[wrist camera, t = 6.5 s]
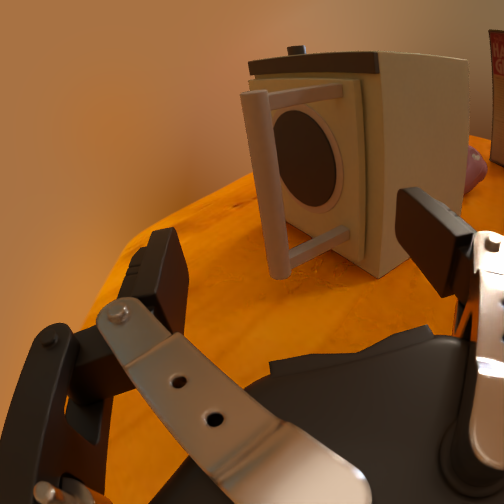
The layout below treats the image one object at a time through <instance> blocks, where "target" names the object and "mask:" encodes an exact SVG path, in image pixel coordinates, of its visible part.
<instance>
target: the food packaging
mask: <svg viewBox="0 0 504 504" xmlns="http://www.w3.org/2000/svg"><path fill="white" fill-rule="evenodd" d="M488 32H489V37H490V47H491V62H492V83H493V120H492V139H491V151H490V159H489V160H490V161H492V162H494V163H496V164H498V165H500V166H502V167H504V31H502V30H489V31H488Z"/></svg>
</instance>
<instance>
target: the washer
mask: <svg viewBox="0 0 504 504" xmlns="http://www.w3.org/2000/svg"><path fill="white" fill-rule="evenodd" d="M287 51H288V56H283V57H275V58H267V59H261V60H253V61H250V62H248V66H249V72H250V75H255V79H269V78H344V79H359V80H360V83H361V94H362V107H363V122H364V142H365V180H366V208H365V247H364V259H363V260H361V261H359V262H357V261H355V260H353V259H352V258H350V257H349V256H347V255H345V254H344V253H342V252H341V251H339V250H337V249H336V248H332V250H333V251H335V252H337V253H338V254H340V255H341V256H343V257H345V258H346V259H348V260H349V261H351V262H353V263H354V264H356V265H357V266H359V267H360V268H362V269H363V270H365V271H367V272H368V273H370V274H371V275H373V276H374V277H376V278H377V279H379V278H381V277H382V276H384V275H385V274H387V273H388V272H389V271H391V270H392V269H394V268H395V267H397V266H398V265H400V264H401V263H403V262H404V261H406V260H407V259H408V258H410V256H409V255H408V254H407V253H406V251H405V250H404V249H403V248H402V246H401V245H400V244H399V243H398V241H397V238H396V235H395V215H396V198H397V192H398V190H399V189H402V188H410V187H419V188H421V189H422V190H423V191H425V192H426V193H427V194H428V195H430V196H431V197H432V198H433V199H436V200H438V201H440V202H442V203H444V204H445V205H446V206H447V207H449V208H450V209H451V211H453V212H455V213H456V214H457V215H458V217H460V215H461V208H462V201H463V194H464V186H465V177H466V167H467V156H468V141H469V113H470V93H469V92H470V91H469V90H470V89H469V64H468V60H464V59H457V58H450V57H443V56H435V55H426V54H416V53H404V52H387V51H385V52H384V51H351V52H350V51H349V52H327V53H313V54H306V48H305V46H304V45H302V46H291V47H287ZM285 221H286V222H288V223H289V224H291V225H293V226H294V227H296V228H298V229H299V230H301V231H303V232H304V233H306V234H308V235H309V236H311V237H312V238H315V237H316V236H314V235H313V234H311V233H309V232H308V231H306V230H304V229H303V228H301V227H299V226H298V225H296V224H294V223H293V222H291V221H289V220H288V219H286V218H285Z"/></svg>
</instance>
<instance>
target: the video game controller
mask: <svg viewBox="0 0 504 504" xmlns="http://www.w3.org/2000/svg"><path fill="white" fill-rule="evenodd" d="M486 173H487V164H486V162H485V161H484V160H483V158H482V156H481V155H480V153H479V152H478V151H477V150H476V149H474V148H473V147H471V146H469V145H468V156H467V167H466V177H465V186H464V194H466V193H468V192H469V191H471V190H472V189H473V188H474V187H475V186H476V185H477V184H478V183H479V182H480V181H482V180H483V179H484V177H485V176H486Z"/></svg>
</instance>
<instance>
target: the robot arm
mask: <svg viewBox="0 0 504 504" xmlns="http://www.w3.org/2000/svg"><path fill="white" fill-rule="evenodd" d="M395 235H396V238H397V241H398V243H399V244H400V245H401V246H402V248H403V249H404V250H405V251H406V253H407V254H408V255H409V256H410V258H411V259H412V260H413V261H414V263H415V264H416V265H417V266H418V268H419V269H420V270H421V271H422V273H423V274H424V275H425V277H426V278H427V279H428V281H429V282H430V283H431V284H432V286H433V287H434V288H435V290H436V291H437V293H438V294H439V295H440V297H441V298H444V297H448V296H451V295H454V294H455V295H456V297H457V302H456V305H455V313H454V321H453V328H452V334H451V336H447V335H433V333H432V331H431V330H430V328H429V326H428V325H427V324H426V325H423V326H420V327H416V328H413V329H410V330H406V331H403V332H399V333H396V334H393V335H391V336H389V337H387V338H385V339H383V340H381V341H380V342H378V343H376V344H374V345H372V346H370V347H368V348H366V349H364V350H362V351H360V352H357V353H339V354H308V355H303V356H298V357H293V358H287V359H282V360H276V361H271V362H269V367H270V373H271V374H270V375H267V376H265V377H262V378H261V379H259V380H257V381H255V382H253V383H252V384H250V385H249V386H247V387H245V388H244V389H242V388H241V387H239V386H238V385H237V384H236V383H235V382H234V381H233V380H231V379H230V378H229V377H228V376H227V375H226V374H225V373H223V372H222V371H221V370H220V369H219V368H218V367H217V366H216V365H214V364H213V363H212V362H211V361H210V360H209V359H208V358H207V357H206V356H204V355H203V354H202V353H201V352H200V351H199V350H198V349H197V348H196V347H195V346H194V345H193V344H192V343H191V342H189V341H188V340H187V339H186V338H185V337H184V325H185V315H186V305H187V296H188V287H189V273H188V268H187V264H186V261H185V258H184V255H183V251H182V248H181V245H180V242H179V238H178V235H177V232H176V230H175V228H174V227H171V228H166V229H161V230H156V231H153V232H152V234H151V236H150V239H149V242H148V245H147V247H142V248H140V249H139V250H138V251H137V252H136V253H135V255H134V256H133V257H132V259H131V261H130V264H129V268H128V269H127V272H126V276H125V277H124V280H123V283H122V286H121V288H120V291H119V294H118V297H117V299H116V300H114V301H112V302H110V303H109V304H107V305H106V306H105V307H104V308H103V309H102V310H101V311H100V312H99V314H98V316H97V318H96V325H94V326H92V327H90V328H87V329H84V330H82V331H79V332H77V333H74V334H73V332H72V331H71V329H70V328H69V326H68V325H66V324H64V323H56V324H52V325H50V326H48V327H46V328H44V329H43V330H42V331H41V332H40V333H39V334H38V335H37V336H36V338H35V339H34V341H33V343H32V346H31V348H30V351H29V353H28V356H27V358H26V361H25V364H24V366H23V369H22V371H21V374H20V377H19V380H18V383H17V386H16V389H15V392H14V394H13V397H12V401H11V404H10V407H9V410H8V413H7V417H6V420H5V424H4V427H3V431H2V435H1V439H0V504H113V503H112V502H111V501H110V500H109V499H108V498H107V497H106V496H104V492H105V474H106V461H107V449H108V439H109V430H110V421H111V413H112V405H113V398H114V396H115V395H118V394H121V393H124V392H127V391H130V390H133V389H135V388H137V390H138V391H139V392H140V394H141V395H142V397H143V398H144V399H145V401H146V402H147V403H148V405H149V406H150V407H151V409H152V410H153V411H154V413H155V414H156V415H157V417H158V418H159V419H160V420H161V422H162V423H163V424H164V425H165V427H166V428H167V429H168V430H169V432H170V433H171V434H172V435H173V437H174V438H175V439H176V440H177V441H178V443H179V444H180V445H181V446H182V447H183V449H184V450H185V451H186V452H187V453H188V454H189V455H188V457H187V458H186V459H185V460H184V462H183V463H182V464H181V465H180V467H179V468H178V469H177V470H176V471H175V473H174V474H173V475H172V476H171V478H170V479H169V480H168V481H167V482H166V484H165V485H164V486H163V487H162V488H161V489H160V491H159V492H158V493H157V494H156V495H155V497H154V498H153V499H152V500H151V501H150V502H149V503H148V504H504V237H503V236H502V235H500V234H497V233H495V232H491V231H480V232H477V231H476V230H474V229H473V228H472V227H471V226H470V225H469V224H468V223H466V222H465V221H464V220H463V219H462V218H461V217H458V215H457V214H456V213H455V212H453V211H451V209H450V208H449V207H447V206H446V205H445V204H444V203H442V202H440V201H438V200H436V199H433V198H432V197H431V196H430V195H428V194H427V193H426V192H425V191H423V190H422V189H421V188H419V187H410V188H402V189H399V190H398V192H397V198H396V215H395ZM67 396H68V397H69V400H68V404H67V409H66V413H65V414H64V406H65V401H66V397H67Z"/></svg>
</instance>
